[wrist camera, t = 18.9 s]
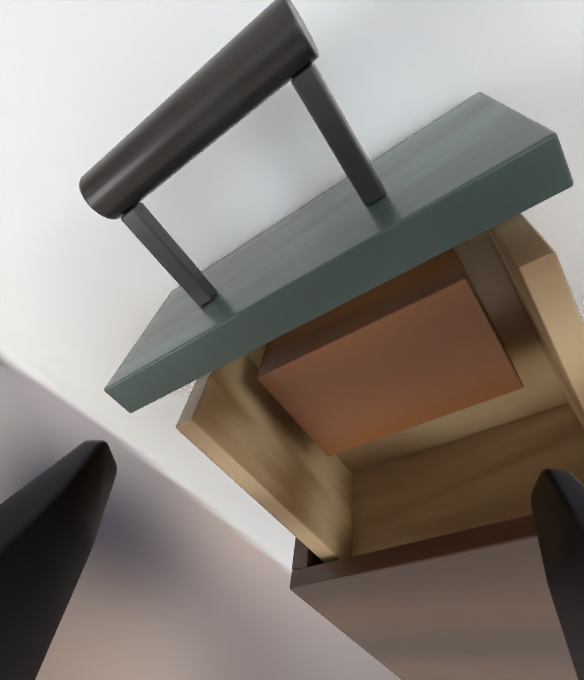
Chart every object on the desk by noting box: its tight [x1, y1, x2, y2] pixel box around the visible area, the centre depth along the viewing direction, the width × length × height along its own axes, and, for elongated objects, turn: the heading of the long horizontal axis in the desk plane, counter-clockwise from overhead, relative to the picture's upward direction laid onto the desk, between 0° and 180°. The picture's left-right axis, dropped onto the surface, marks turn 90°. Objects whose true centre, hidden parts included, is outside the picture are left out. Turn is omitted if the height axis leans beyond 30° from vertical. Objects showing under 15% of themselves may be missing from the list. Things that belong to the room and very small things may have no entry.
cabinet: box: [290, 514, 578, 680], centre depth 21 cm, size 15×15×8 cm
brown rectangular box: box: [257, 247, 524, 457], centre depth 17 cm, size 5×8×2 cm, turn 125°
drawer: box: [79, 0, 584, 563], centre depth 15 cm, size 18×13×6 cm
